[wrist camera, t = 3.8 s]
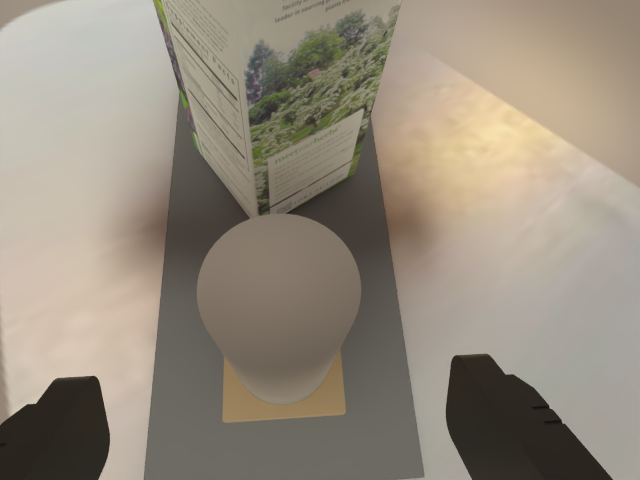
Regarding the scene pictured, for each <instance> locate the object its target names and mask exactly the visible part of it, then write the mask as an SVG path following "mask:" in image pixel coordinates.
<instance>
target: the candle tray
mask: <svg viewBox="0 0 640 480" xmlns="http://www.w3.org/2000/svg"><path fill="white" fill-rule="evenodd" d="M421 477H425V476H424V470H423V463H422V456H421V450H420V443H419V436H418V430H417V423H416V416H415V410H414V403H413V396H412V390H411V383H410V376H409V370H408V363H407V356H406V350H405V343H404V336H403V330H402V323H401V316H400V310H399V303H398V296H397V290H396V283H395V276H394V270H393V263H392V256H391V250H390V243H389V236H388V230H387V223H386V216H385V210H384V203H383V196H382V190H381V183H380V176H379V170H378V163H377V156H376V150H375V143H374V136H373V130H372V123H371V116H370V119H369V123H368V127H367V131H366V134H365V138H364V142H363V145H362V149H361V153H360V157H359V160H358V164H357V167H356V171H355V173H354V174H353V175H352V176H350V177H349V178H347V179H346V180H344V181H342V182H340V183H339V184H337V185H335V186H334V187H332V188H330V189H329V190H327V191H325V192H324V193H322V194H320V195H319V196H317V197H315V198H314V199H312V200H310V201H309V202H307V203H305V204H304V205H302V206H300V207H299V208H297V209H296V210H294V211H292V212H291V213H289V214H267V215H262V216H258V217H255V218H252V219H250V218H249V216H248V215H247V214H246V212H245V211H244V210H243V208H242V207H241V206H240V204H239V203H238V202H237V200H236V199H235V198H234V196H233V195H232V194H231V192H230V191H229V190H228V188H227V187H226V186H225V185H224V183H223V182H222V181H221V179H220V178H219V177H218V176H217V174H216V173H215V172H214V170H213V169H212V168H211V167H210V165H209V164H208V163H207V161H206V160H205V159H204V158H203V156H202V155H201V154H200V152H199V151H198V150H197V148H196V147H195V144H194V140H193V136H192V133H191V130H190V126H189V123H188V119H187V116H186V112H185V109H184V105H183V101H182V98H181V95H180V93H179V104H178V115H177V126H176V136H175V147H174V158H173V169H172V180H171V190H170V201H169V212H168V223H167V234H166V244H165V255H164V266H163V277H162V288H161V298H160V309H159V320H158V331H157V342H156V352H155V363H154V374H153V385H152V396H151V406H150V417H149V428H148V439H147V450H146V460H145V471H144V480H397V479H409V478H421Z"/></svg>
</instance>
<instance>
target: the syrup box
mask: <svg viewBox="0 0 640 480" xmlns="http://www.w3.org/2000/svg"><path fill="white" fill-rule="evenodd" d="M153 1H154V5H155V9H156V12H157V16H158V19H159V22H160V26H161V29H162V32H163V36H164V39H165V43H166V46H167V49H168V53H169V56H170V59H171V63H172V66H173V70H174V73H175V77H176V80H177V84H178V88H179V91H180V95H181V98H182V101H183V105H184V109H185V112H186V116H187V119H188V123H189V126H190V130H191V133H192V136H193V140H194V144H195V147H196V148H197V150H198V151H199V152H200V154H201V155H202V156H203V158H204V159H205V160H206V161H207V163H208V164H209V165H210V167H211V168H212V169H213V170H214V172H215V173H216V174H217V176H218V177H219V178H220V179H221V181H222V182H223V183H224V185H225V186H226V187H227V188H228V190H229V191H230V192H231V194H232V195H233V196H234V198H235V199H236V200H237V202H238V203H239V204H240V206H241V207H242V208H243V210H244V211H245V212H246V214H247V215H248V216H249V218H250V219H252V218H255V217H258V216H262V215H267V214H289V213H291V212H292V211H294V210H296V209H297V208H299V207H300V206H302V205H304V204H305V203H307V202H309V201H310V200H312V199H314V198H315V197H317V196H319V195H320V194H322V193H324V192H325V191H327V190H329V189H330V188H332V187H334V186H335V185H337V184H339V183H340V182H342V181H344V180H346V179H347V178H349V177H350V176H352V175H353V174H354V173H355V171H356V167H357V164H358V160H359V157H360V153H361V149H362V145H363V142H364V138H365V134H366V131H367V127H368V123H369V119H370V115H371V112H372V108H373V104H374V101H375V97H376V94H377V90H378V86H379V82H380V79H381V75H382V72H383V68H384V64H385V61H386V57H387V54H388V50H389V47H390V43H391V38H392V35H393V31H394V28H395V24H396V20H397V17H398V13H399V9H400V6H401V2H402V0H153Z"/></svg>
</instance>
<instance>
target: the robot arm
mask: <svg viewBox="0 0 640 480" xmlns="http://www.w3.org/2000/svg"><path fill="white" fill-rule="evenodd" d="M446 421H447V426H448V430H449V434H450V436H451V439H452V441H453V443H454V445H455V447H456V449H457V450H458V452H459V454H460V456H461V458H462V460H463V462H464V464H465V466H466V468H467V470H468V472H469V474H470V476H471V478H472V480H613V479H612V478H611V477H610V476H609V474H608V473H607V472H606V471H605V470H604V469H603V467H602V466H601V465H600V464H599V463H598V462H597V460H596V459H595V458H594V457H593V456H592V455H591V454H590V452H589V451H588V450H587V449H586V448H585V447H584V445H583V444H582V443H581V442H580V441H579V440H578V438H577V437H576V436H575V435H574V434H573V433H572V432H571V430H570V429H569V428H568V427H567V426H566V425H565V424H562V420H561V419H560V418H559V416H558V415H557V414H556V413H555V412H554V411H553V409H550V408H549V405H548V404H547V403H546V401H545V400H544V399H543V398H542V397H541V396H540V394H539V393H538V392H537V391H536V390H535V389H534V388H533V387H531V386H530V385H528V384H527V383H525V382H524V381H522V380H521V379H519V378H518V377H516V376H515V375H513V374H511V375H505V373H504V372H503V371H502V370H501V368H500V367H499V366H498V365H497V364H496V362H495V361H494V360H493V359H492V357H491V356H490V355H488V354H473V355H456V356H454V357H453V359H452V362H451V369H450V378H449V386H448V395H447V403H446ZM109 445H110V433H109V427H108V422H107V417H106V412H105V407H104V402H103V397H102V392H101V387H100V383H99V380H98V379H97V377H95V376H85V377H68V378H57V379H55V380H54V381H53V382H52V383H51V385H50V386H49V387H48V389H47V390H46V391H45V393H44V394H43V395H42V397H41V398H40V399H39V401H38V402H37V403H36V404H27V405H26V406H24V407H23V408H22V409H20V410H19V411H18V412H16V413H15V414H14V415H12V416H11V417H10V418H8V419H7V420H6V421H4V422H3V423H2V424H1V425H0V480H98V479H99V477H100V474H101V472H102V470H103V468H104V465H105V463H106V460H107V457H108V452H109Z"/></svg>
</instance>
